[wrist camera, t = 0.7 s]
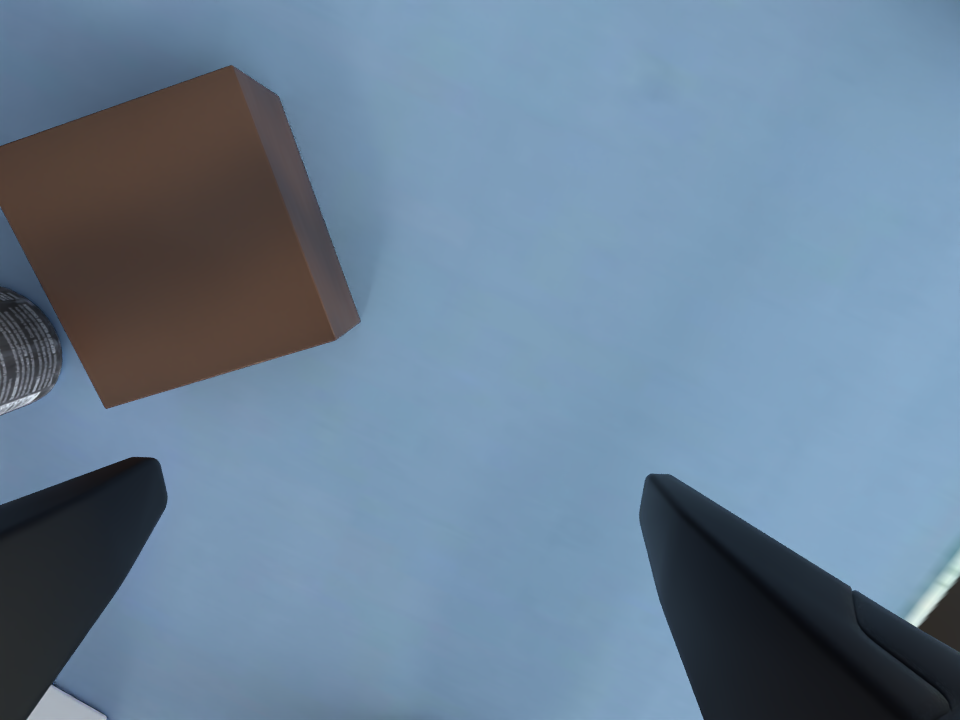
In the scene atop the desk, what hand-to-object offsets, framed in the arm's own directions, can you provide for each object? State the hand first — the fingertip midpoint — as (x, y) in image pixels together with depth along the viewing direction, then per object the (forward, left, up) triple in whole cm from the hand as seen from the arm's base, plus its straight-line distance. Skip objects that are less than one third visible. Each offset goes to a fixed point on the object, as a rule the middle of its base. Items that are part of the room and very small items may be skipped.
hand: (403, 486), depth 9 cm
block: (+2, +11, -14) cm, 18 cm away
